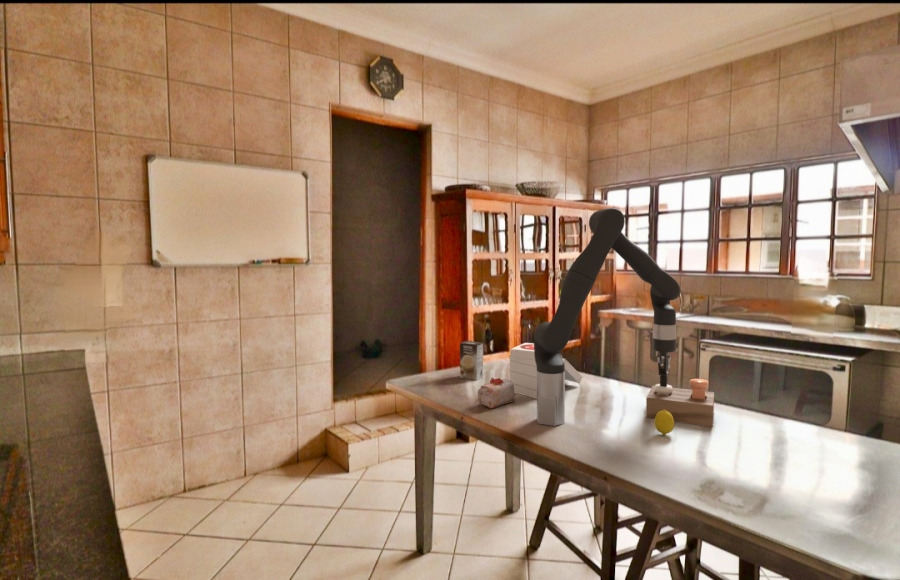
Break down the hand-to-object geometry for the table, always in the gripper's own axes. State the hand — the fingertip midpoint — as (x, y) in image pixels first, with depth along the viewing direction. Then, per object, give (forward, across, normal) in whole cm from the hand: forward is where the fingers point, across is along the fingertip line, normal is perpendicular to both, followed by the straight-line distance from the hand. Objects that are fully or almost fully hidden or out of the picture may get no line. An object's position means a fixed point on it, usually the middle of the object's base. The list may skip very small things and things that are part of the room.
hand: (663, 386), depth 174 cm
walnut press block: (+9, 0, -6) cm, 11 cm away
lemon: (+10, -22, -2) cm, 24 cm away
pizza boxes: (+10, +11, +46) cm, 49 cm away
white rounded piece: (+9, 0, 0) cm, 9 cm away
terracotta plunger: (+5, 0, -11) cm, 12 cm away
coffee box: (+10, +14, +82) cm, 83 cm away
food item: (+10, -16, +56) cm, 59 cm away
